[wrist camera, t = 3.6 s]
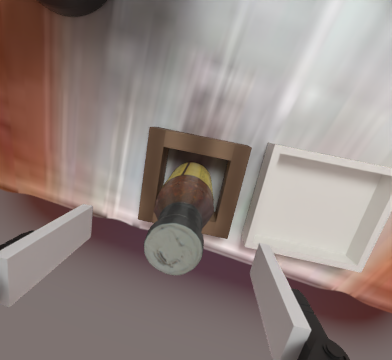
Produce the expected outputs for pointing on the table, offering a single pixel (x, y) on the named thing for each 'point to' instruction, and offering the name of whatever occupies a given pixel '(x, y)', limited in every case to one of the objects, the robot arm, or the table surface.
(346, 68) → the table surface
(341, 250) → the plastic tray
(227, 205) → the walnut holder
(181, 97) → the table surface
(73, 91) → the table surface
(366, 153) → the table surface
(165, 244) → the sauce bottle
